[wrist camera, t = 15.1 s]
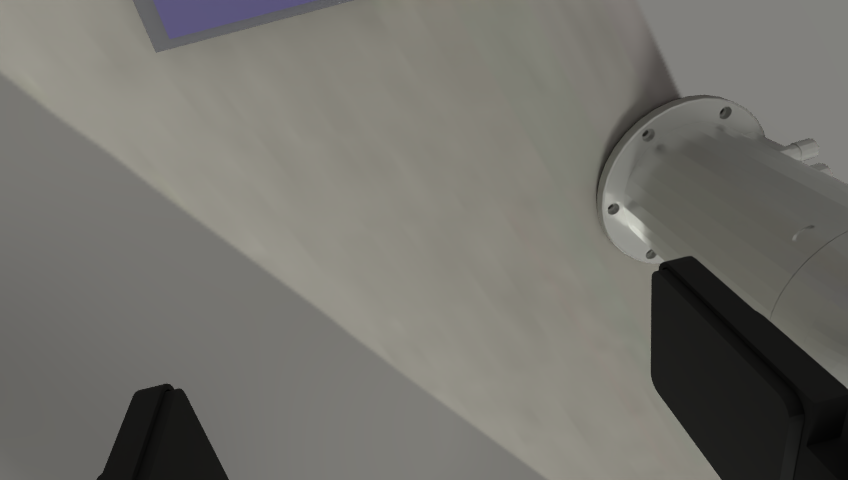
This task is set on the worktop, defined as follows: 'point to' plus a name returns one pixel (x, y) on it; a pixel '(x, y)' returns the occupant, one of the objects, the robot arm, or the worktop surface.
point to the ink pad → (214, 17)
